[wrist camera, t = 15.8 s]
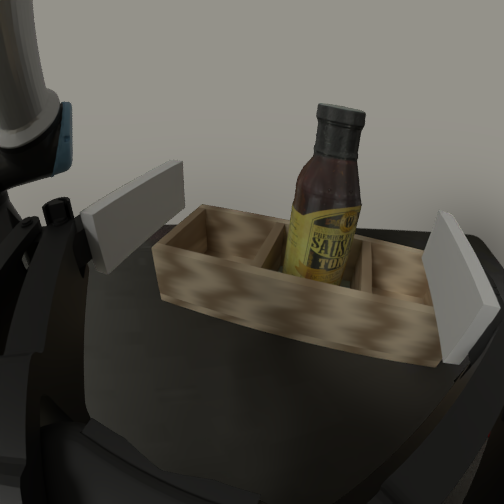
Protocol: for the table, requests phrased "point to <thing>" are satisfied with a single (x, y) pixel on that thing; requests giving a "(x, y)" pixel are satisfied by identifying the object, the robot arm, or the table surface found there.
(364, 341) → the wooden compartment box
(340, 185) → the sauce bottle
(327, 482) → the table surface
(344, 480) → the table surface
